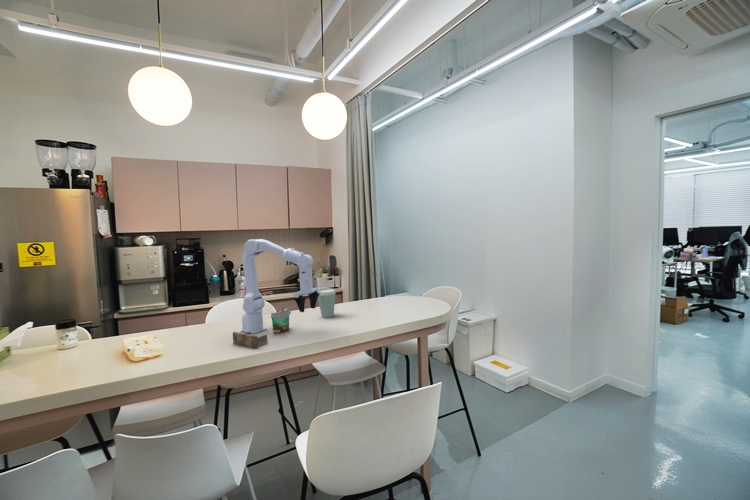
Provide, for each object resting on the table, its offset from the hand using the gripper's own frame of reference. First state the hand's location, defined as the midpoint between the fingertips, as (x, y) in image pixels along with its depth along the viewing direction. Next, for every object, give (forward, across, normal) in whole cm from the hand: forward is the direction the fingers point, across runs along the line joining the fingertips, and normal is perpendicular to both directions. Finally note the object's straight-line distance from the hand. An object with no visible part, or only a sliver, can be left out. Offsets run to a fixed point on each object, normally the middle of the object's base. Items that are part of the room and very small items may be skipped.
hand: (307, 310), depth 154 cm
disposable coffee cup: (+10, +25, +9) cm, 29 cm away
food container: (+10, -4, +12) cm, 16 cm away
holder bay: (+10, -23, +12) cm, 28 cm away
